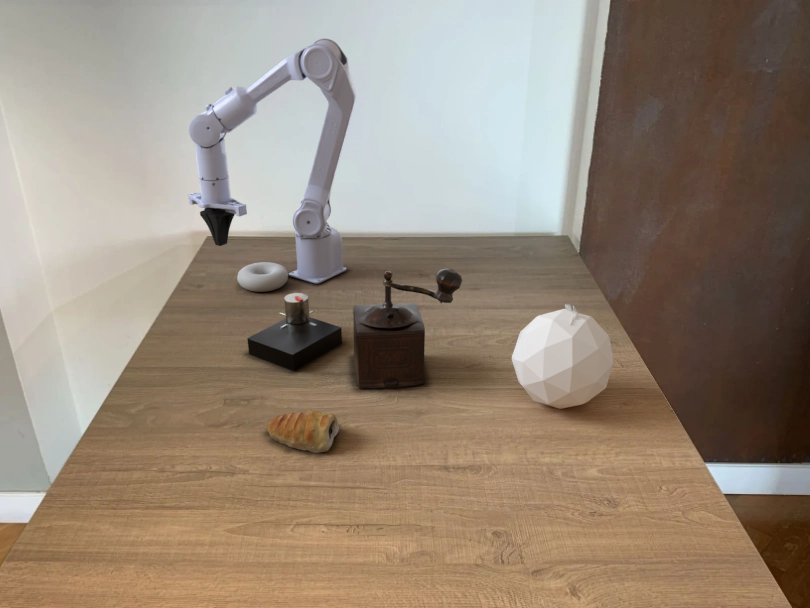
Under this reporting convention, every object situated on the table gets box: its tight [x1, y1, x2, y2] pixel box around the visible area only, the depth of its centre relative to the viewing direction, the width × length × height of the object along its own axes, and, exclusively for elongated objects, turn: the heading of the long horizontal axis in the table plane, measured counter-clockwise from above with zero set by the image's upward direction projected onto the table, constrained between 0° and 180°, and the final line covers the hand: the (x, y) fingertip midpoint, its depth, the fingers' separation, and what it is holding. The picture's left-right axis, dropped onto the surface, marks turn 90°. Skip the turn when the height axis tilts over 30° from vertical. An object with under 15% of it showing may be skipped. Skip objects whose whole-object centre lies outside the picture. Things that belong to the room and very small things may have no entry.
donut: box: [236, 261, 289, 293], centre depth 147 cm, size 10×4×10 cm
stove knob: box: [283, 292, 310, 324], centre depth 125 cm, size 4×4×4 cm
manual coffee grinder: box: [352, 268, 463, 390], centre depth 112 cm, size 16×11×18 cm
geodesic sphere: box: [511, 303, 615, 410], centre depth 105 cm, size 15×14×14 cm
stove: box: [246, 310, 343, 372], centre depth 124 cm, size 14×12×3 cm
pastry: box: [266, 409, 340, 454], centre depth 99 cm, size 9×7×4 cm
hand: (221, 244), depth 150 cm, fingers closed
